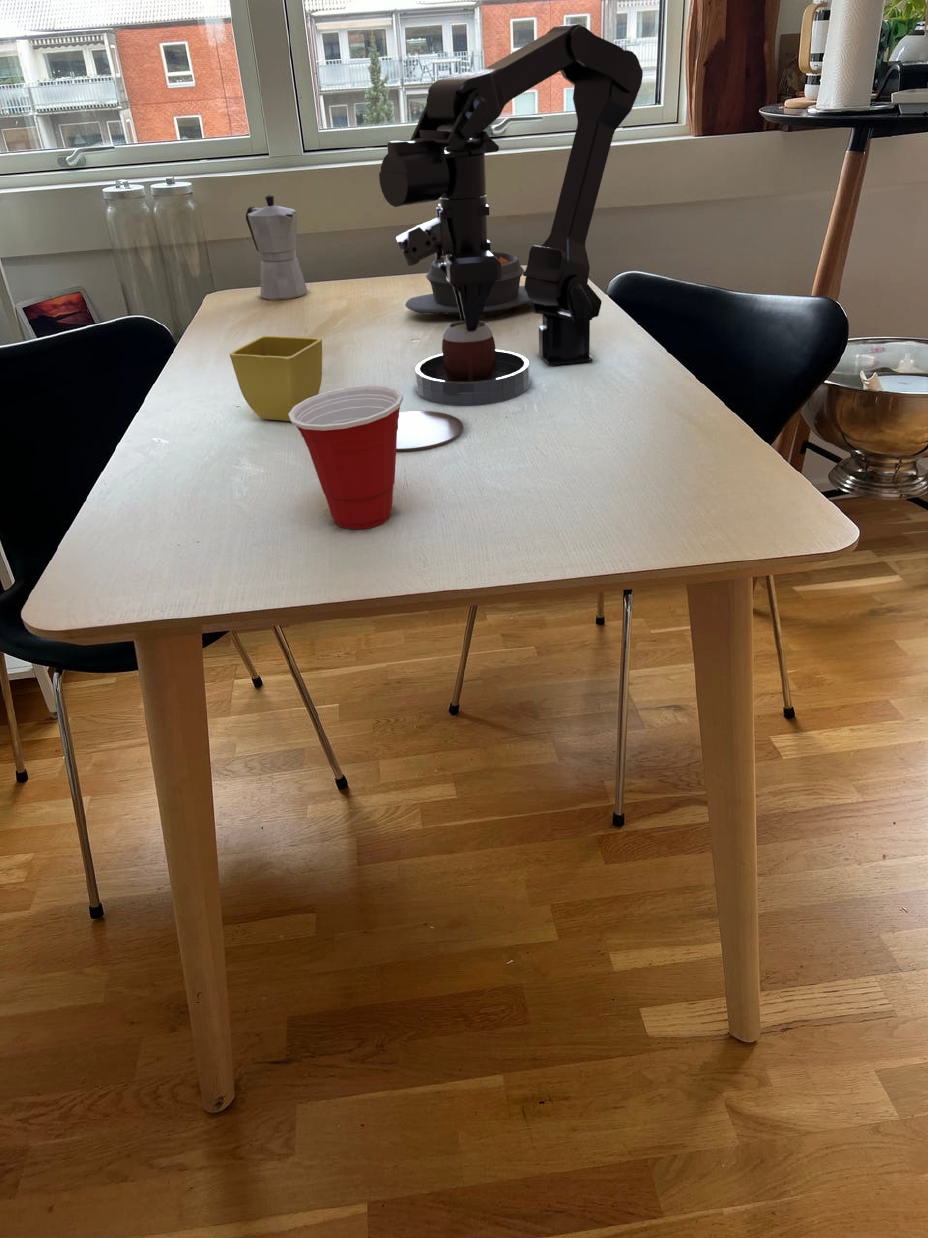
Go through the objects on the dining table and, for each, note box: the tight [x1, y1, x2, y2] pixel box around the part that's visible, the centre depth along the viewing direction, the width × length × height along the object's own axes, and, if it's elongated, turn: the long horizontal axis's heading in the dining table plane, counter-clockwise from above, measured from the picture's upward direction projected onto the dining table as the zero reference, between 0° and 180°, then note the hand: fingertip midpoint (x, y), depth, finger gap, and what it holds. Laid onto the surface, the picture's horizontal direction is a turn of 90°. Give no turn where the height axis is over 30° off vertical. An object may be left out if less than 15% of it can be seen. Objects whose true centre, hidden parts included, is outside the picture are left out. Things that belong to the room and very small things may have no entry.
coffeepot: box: [245, 194, 308, 301], centre depth 180 cm, size 15×9×18 cm, turn 44°
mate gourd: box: [441, 320, 496, 382], centre depth 122 cm, size 8×8×15 cm
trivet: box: [396, 410, 464, 453], centre depth 113 cm, size 13×13×1 cm
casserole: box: [404, 251, 531, 318], centre depth 162 cm, size 25×19×8 cm
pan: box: [414, 349, 530, 407], centre depth 126 cm, size 15×15×3 cm
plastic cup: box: [288, 384, 404, 530], centre depth 90 cm, size 11×11×12 cm
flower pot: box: [229, 335, 323, 422], centre depth 119 cm, size 9×9×9 cm
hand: (468, 325), depth 122 cm, fingers closed on mate gourd, 5 cm apart
